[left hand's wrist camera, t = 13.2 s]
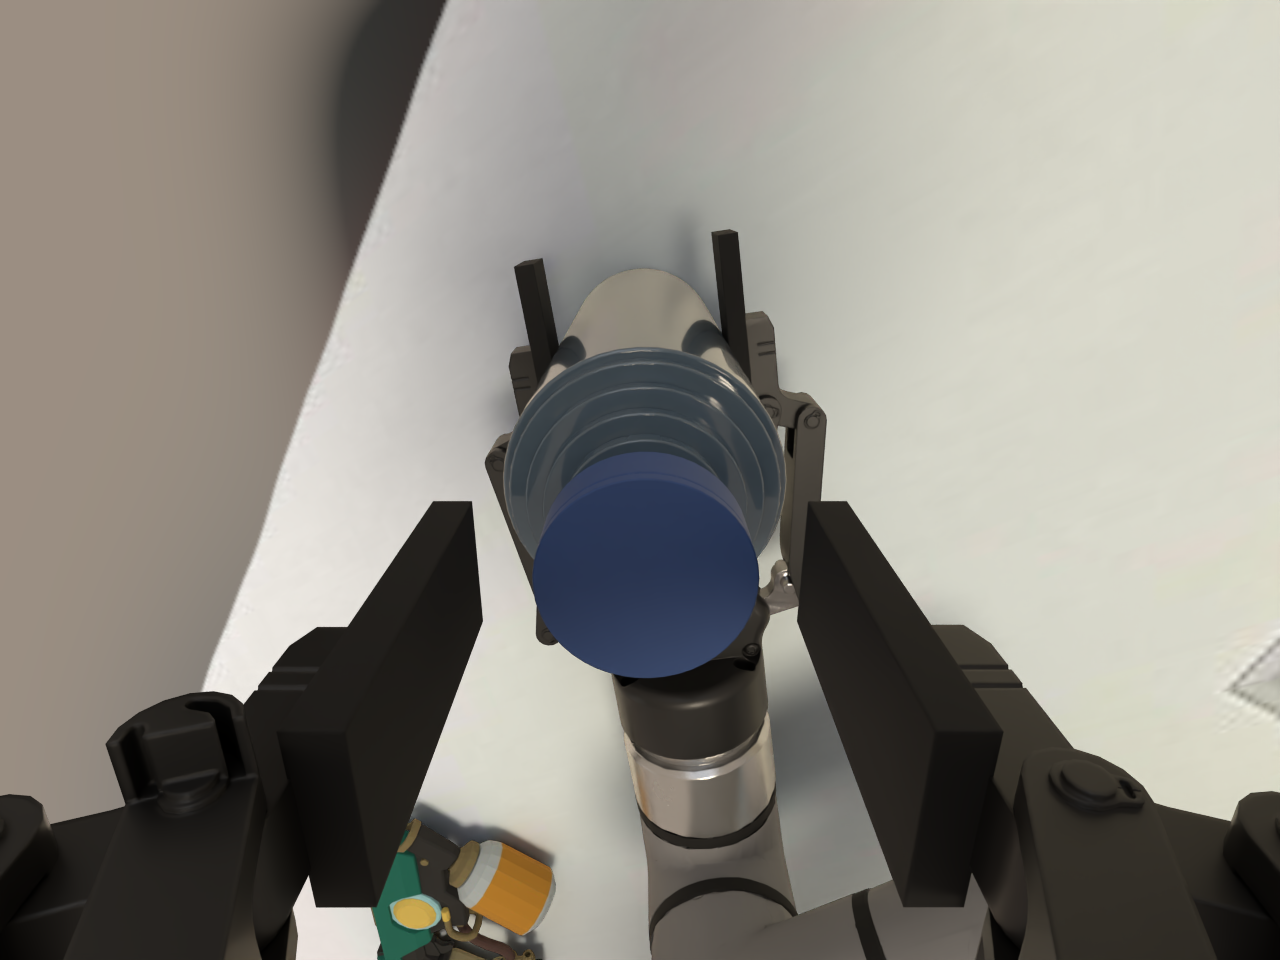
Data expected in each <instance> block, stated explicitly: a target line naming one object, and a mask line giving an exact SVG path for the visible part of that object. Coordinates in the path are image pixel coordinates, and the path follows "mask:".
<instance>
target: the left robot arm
mask: <svg viewBox="0 0 1280 960" xmlns="http://www.w3.org/2000/svg"><path fill="white" fill-rule="evenodd" d="M482 622H483V617H482V606H481V595H480V584H479V573H478V562H477V551H476V540H475V529H474V518H473V508H472V501H433V502H432V504H431V505H430V507H429V508H428V510H427V511H426V513H425V514H424V516H423V517H422V519H421V520H420V521H419V523H418V524H417V526H416V527H415V529H414V530H413V532H412V533H411V535H410V536H409V538H408V539H407V541H406V542H405V543H404V545H403V546H402V548H401V549H400V551H399V552H398V554H397V555H396V557H395V558H394V560H393V561H392V563H391V564H390V565H389V567H388V568H387V570H386V571H385V573H384V574H383V576H382V577H381V579H380V580H379V582H378V583H377V585H376V586H375V587H374V589H373V590H372V592H371V593H370V595H369V596H368V598H367V599H366V601H365V602H364V604H363V605H362V607H361V608H360V610H359V611H358V612H357V614H356V615H355V617H354V618H353V620H352V621H351V623H350V624H349V626H348V627H317V628H315V629H314V630H312V631H311V632H309V633H308V634H306V635H305V636H303V637H302V638H300V639H299V640H297V641H296V642H294V643H293V644H291V645H290V646H289V647H288V648H287V650H286V651H285V652H284V653H283V655H282V656H281V657H280V659H279V660H278V661H277V662H276V664H275V665H274V666H273V668H272V672H269V673H268V674H267V675H266V676H265V678H264V679H263V680H262V682H261V683H260V684H259V685H258V690H257V691H254V692H253V693H252V694H251V696H250V697H249V698H248V699H247V701H246V702H245V703H244V705H243V703H242V702H240V701H239V700H238V699H237V698H235V697H234V696H233V695H230V694H225V693H220V692H214V691H212V692H200V693H189V694H186V695H182V696H179V697H175V698H171V699H168V700H164V701H162V702H160V703H158V704H156V705H154V706H151V707H150V708H147V709H145V710H143V711H141V712H139V713H138V714H136V715H135V716H133V717H132V718H131V719H129V720H128V721H127V722H125V723H124V724H123V725H121V726H120V727H118V729H117V730H116V731H115V732H114V734H113V735H112V736H111V738H110V739H109V740H108V741H107V743H106V747H107V750H108V753H109V756H110V759H111V762H112V765H113V768H114V771H115V774H116V777H117V780H118V783H119V786H120V789H121V792H122V795H123V798H124V801H125V806H124V807H121V808H118V809H114V810H111V811H106V812H102V813H97V814H93V815H89V816H84V817H80V818H76V819H71V820H67V821H62V822H58V823H54V824H50V823H49V821H48V818H47V815H46V813H45V810H44V808H43V805H42V804H41V803H39V802H38V801H37V800H35V799H34V798H32V797H31V796H24V795H12V794H8V795H3V796H0V960H296V950H297V940H298V933H297V927H296V920H295V916H294V912H293V906H294V904H295V902H296V900H297V898H298V896H299V894H300V892H301V890H302V888H303V886H304V884H305V882H306V879H307V877H308V875H309V878H310V883H311V887H312V892H313V896H314V900H315V905H316V907H377V905H378V903H379V900H380V897H381V894H382V892H383V889H384V886H385V884H386V881H387V878H388V876H389V873H390V870H391V868H392V865H393V862H394V859H395V857H396V854H397V851H398V849H399V846H400V843H401V841H402V838H403V835H404V832H405V830H406V827H407V824H408V822H409V819H410V816H411V814H412V811H413V808H414V806H415V803H416V800H417V797H418V795H419V792H420V789H421V787H422V784H423V781H424V779H425V776H426V773H427V771H428V768H429V765H430V762H431V760H432V757H433V754H434V752H435V749H436V746H437V744H438V741H439V738H440V735H441V733H442V730H443V727H444V725H445V722H446V719H447V717H448V714H449V711H450V709H451V706H452V703H453V700H454V698H455V695H456V692H457V690H458V687H459V684H460V682H461V679H462V676H463V674H464V671H465V668H466V665H467V663H468V660H469V657H470V655H471V652H472V649H473V647H474V644H475V641H476V638H477V636H478V633H479V630H480V628H481V625H482ZM797 622H798V625H799V628H800V630H801V633H802V636H803V638H804V641H805V644H806V647H807V649H808V652H809V655H810V657H811V660H812V663H813V665H814V668H815V671H816V674H817V676H818V679H819V682H820V684H821V687H822V690H823V692H824V695H825V698H826V700H827V703H828V706H829V709H830V711H831V714H832V717H833V719H834V722H835V725H836V727H837V730H838V733H839V735H840V738H841V741H842V744H843V746H844V749H845V752H846V754H847V757H848V760H849V762H850V765H851V768H852V771H853V773H854V776H855V779H856V781H857V784H858V787H859V789H860V792H861V795H862V797H863V800H864V803H865V806H866V808H867V811H868V814H869V816H870V819H871V822H872V824H873V827H874V830H875V832H876V835H877V838H878V841H879V843H880V846H881V849H882V851H883V854H884V857H885V859H886V862H887V865H888V868H889V870H890V873H891V876H892V878H893V881H894V884H895V886H896V889H897V892H898V894H899V897H900V900H901V903H902V905H903V907H964V905H965V900H966V896H967V892H968V887H969V883H970V878H971V874H973V876H974V878H975V880H976V882H977V884H978V886H979V888H980V890H981V892H982V894H983V896H984V898H985V900H986V902H987V904H988V908H987V912H986V916H985V920H984V924H983V928H982V932H981V937H980V941H979V945H978V949H977V953H976V957H975V960H1280V793H1279V792H1273V791H1269V792H1257V793H1250V794H1249V795H1247V796H1246V797H1244V798H1243V799H1242V800H1240V801H1239V802H1238V805H1237V808H1236V810H1235V813H1234V815H1233V818H1232V820H1231V821H1227V820H1223V819H1218V818H1214V817H1209V816H1205V815H1201V814H1196V813H1192V812H1188V811H1183V810H1179V809H1175V808H1170V807H1166V806H1163V805H1160V804H1156V803H1154V802H1153V800H1152V799H1151V797H1150V796H1149V794H1148V793H1147V791H1146V790H1145V788H1144V787H1143V785H1141V784H1140V783H1139V782H1138V781H1137V780H1135V779H1134V778H1133V777H1132V776H1131V775H1129V774H1128V773H1127V772H1126V771H1125V770H1123V769H1121V768H1120V767H1118V766H1116V765H1114V764H1112V763H1110V762H1108V761H1107V760H1105V759H1103V758H1101V757H1099V756H1095V755H1092V754H1089V753H1086V752H1083V751H1080V750H1076V749H1074V748H1073V747H1072V746H1071V744H1070V743H1069V742H1068V741H1067V739H1066V738H1065V737H1064V736H1063V734H1062V733H1061V732H1060V731H1059V729H1058V728H1057V727H1056V725H1055V724H1054V723H1053V722H1052V720H1051V719H1050V718H1049V717H1048V715H1047V714H1046V713H1045V711H1044V710H1043V709H1042V708H1041V706H1040V705H1039V704H1038V703H1037V701H1036V700H1035V699H1034V697H1033V696H1032V695H1031V694H1030V692H1029V691H1028V690H1027V689H1026V688H1023V686H1022V682H1021V681H1020V680H1019V678H1018V677H1017V676H1016V675H1015V673H1014V672H1013V671H1012V670H1009V669H1008V664H1007V663H1006V662H1005V661H1004V659H1003V658H1002V657H1001V656H1000V654H999V653H998V652H997V651H996V649H995V648H994V647H993V645H992V644H991V643H989V642H988V641H986V640H985V639H984V638H982V637H981V636H979V635H978V634H976V633H975V632H973V631H972V630H970V629H969V628H967V627H966V626H964V625H931V624H930V623H929V621H928V620H927V618H926V617H925V615H924V614H923V612H922V611H921V610H920V608H919V607H918V605H917V604H916V602H915V601H914V599H913V598H912V596H911V595H910V593H909V592H908V590H907V589H906V587H905V586H904V585H903V583H902V582H901V580H900V579H899V577H898V576H897V574H896V573H895V571H894V570H893V568H892V567H891V565H890V564H889V563H888V561H887V560H886V558H885V557H884V555H883V554H882V552H881V551H880V549H879V548H878V546H877V545H876V543H875V542H874V541H873V539H872V538H871V536H870V535H869V533H868V532H867V530H866V529H865V527H864V526H863V524H862V523H861V521H860V520H859V519H858V517H857V516H856V514H855V513H854V511H853V510H852V508H851V507H850V505H849V504H848V502H847V501H808V508H807V518H806V529H805V540H804V551H803V562H802V573H801V584H800V595H799V606H798V617H797Z"/></svg>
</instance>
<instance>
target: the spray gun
mask: <svg viewBox="0 0 1280 960" xmlns="http://www.w3.org/2000/svg"><path fill="white" fill-rule="evenodd" d="M406 830H410V832H408V831H406ZM406 830H405V832H404V835H403V838H402V841H401V843H400V846H399V849H398V851H397V854H396V857H395V859H394V862H393V865H392V868H391V870H390V873H389V876H388V878H387V881H386V884H385V886H384V889H383V892H382V894H381V897H380V900H379V903H378V905H377V907H371V910H372V914H373V918H374V922H375V925H376V926H377V929H378V933H379V937H380V941H381V944H380V946H379V949H378V951H377V954H378V956H377V959H378V960H486V959H483V958H481V957H478V956H476V955H473V954H471V953H469V952H466V951H464V950H461V949H459V948H453V946H454V944H455V942H454V941H452V940H451V941H447V942H446V941H442V940H440V939H439V938H438V937H436V936H435V935H434V932H436V931H438V930H441V929H443V928H445V929H446V932H447V934H448V935H449V936H450V937H451V938H453V939H455V940H458V941H469V942H471V943H472V944H474V945H476V946H479V947H481V948H483V949H485V950H489V951H492V952H495V953H498V954H500V955H502V956H503V957H502V956H498V957H496V958H494V959H493V960H542V959H535V955H534V953H533V952H532V950H530V949H528V950H525V951H524V953H523V955H522V956H517V953H516V951H514V950H512V948H511V947H510V946H508V945H506V944H505V943H503V942H499V941H496V940H493V939H490V938H488V937H486V936H483V935H481V934H479V933H478V932H479V930H480V927H481V924H482V917H483V916H485V917H487V918H488V919H490V920H492V921H494V922H496V923H498V924H500V925H502V926H503V927H505V928H507V929H509V930H511V931H513V932H515V933H517V934H519V935H525V934H527V933H528V932H530V931H532V930H533V929H535V928H536V927H538V925H539V924H540V923H541V922H542V921H543V919H544V917H545V915H546V914H547V912H548V910H549V907H550V905H551V903H552V900H553V897H554V894H555V886H556V884H555V879H554V875H553V872H552V869H551V868H550V867H548V866H546V865H544V864H542V863H541V862H539V861H537V860H535V859H533V858H531V857H529V856H527V855H525V854H523V853H521V852H519V851H517V850H515V849H513V848H512V847H510V846H508V845H506V844H504V843H502V842H497V841H492V840H487V841H485V842H483V843H480V844H479V843H477V842H475V841H472V840H471V841H469V842H468V843H467V844H466V845H464V846H463V847H461V848H459V847H458V846H457V845H456V844H454V843H453V842H451V841H449V840H448V839H446V838H444V837H443V836H441V835H440V834H438V833H436V832H435V831H433V830H431V829H430V828H428V827H427V826H425V825H423V824H422V825H421V821H419V820H417V819H416V818H415V819H414V820H412V822H411V823H408V824H407V827H406ZM448 868H449V870H450V875H449V872H448ZM470 914H475V915H476V919H475V924H474V927H473V929H471V927H470V926H469V925H468V919H469V916H470ZM452 926H457V928H458V930H459V931H460V932H458V931H456V930H454V929H453V927H452Z"/></svg>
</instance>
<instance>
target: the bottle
mask: <svg viewBox="0 0 1280 960" xmlns="http://www.w3.org/2000/svg"><path fill="white" fill-rule="evenodd" d="M633 452H659V453H666V454H671V455H675V456H678V457H682V458H684V459H687V460H689V461H692V462H694V463H696V464H698V465H700V466H701V467H703V468H705V469H707V470H708V471H709V472H711V473H712V474H713V475H714V476H716V477H717V478H718V479H719V480H720V481H721V482H722V483H723V484H724V485H725V486H726V487H727V488H728V489H729V491H730V492H731V493H732V495H733V496H734V497H735V499H736V501H737V503H738V504H739V506H740V508H741V510H742V513H743V516H744V518H745V521H746V524H747V527H748V530H749V534H750V537H751V540H752V543H753V546H754V549H755V552H756V557H758V556H759V555H760V553H761V552H762V551H763V549H764V548H765V547H766V545H767V543H768V542H769V540H770V538H771V536H772V534H773V533H774V531H775V528H776V526H777V523H778V521H779V518H780V515H781V512H782V507H783V503H784V499H785V490H786V463H785V458H784V453H783V447H782V444H781V441H780V438H779V435H778V432H777V430H776V428H775V426H774V424H773V422H772V420H771V418H770V416H769V414H768V412H767V410H766V409H765V407H764V405H763V404H762V402H761V400H760V398H759V397H758V395H757V393H756V392H755V390H754V388H753V386H752V385H751V383H750V381H749V379H748V378H747V376H746V374H745V373H744V371H743V369H742V367H741V366H740V364H739V362H738V361H737V359H736V357H735V355H734V354H733V352H732V350H731V349H730V347H729V345H728V343H727V342H726V340H725V338H724V337H723V335H722V333H721V331H720V330H719V328H718V326H717V324H716V323H715V321H714V319H713V318H712V316H711V314H710V312H709V311H708V309H707V307H706V306H705V304H704V302H703V301H702V299H701V298H700V296H699V295H698V294H697V293H696V292H695V291H694V289H693V288H692V287H690V286H689V285H688V284H687V283H686V282H684V281H683V280H681V279H680V278H678V277H676V276H674V275H672V274H670V273H667V272H664V271H660V270H655V269H644V268H639V269H631V270H627V271H623V272H620V273H618V274H615V275H613V276H611V277H609V278H607V279H606V280H604V281H603V282H602V283H600V284H599V285H598V286H596V287H595V289H594V290H593V291H592V292H591V293H590V294H589V295H588V297H587V298H586V299H585V301H584V302H583V304H582V306H581V308H580V310H579V311H578V313H577V315H576V317H575V319H574V320H573V322H572V324H571V326H570V328H569V329H568V331H567V333H566V335H565V337H564V338H563V340H562V342H561V344H560V346H559V347H558V349H557V351H556V353H555V355H554V356H553V358H552V360H551V362H550V364H549V365H548V367H547V369H546V371H545V373H544V374H543V376H542V378H541V380H540V382H539V383H538V385H537V387H536V389H535V391H534V393H533V394H532V396H531V398H530V400H529V402H528V403H527V405H526V407H525V409H524V411H523V412H522V414H521V416H520V418H519V420H518V421H517V423H516V425H515V427H514V430H513V433H512V435H511V438H510V440H509V443H508V448H507V452H506V456H505V463H504V475H503V479H504V495H505V500H506V505H507V510H508V513H509V516H510V519H511V522H512V525H513V527H514V529H515V531H516V533H517V535H518V537H519V539H520V541H521V543H522V544H523V546H524V547H525V548H526V550H527V551H528V553H529V554H530V556H531V557H532V558H533V559H535V555H536V551H537V548H538V544H539V541H540V538H541V534H542V531H543V527H544V524H545V521H546V517H547V515H548V513H549V510H550V508H551V506H552V504H553V502H554V501H555V499H556V497H557V496H558V494H559V493H560V492H561V491H562V489H563V488H564V487H565V486H566V485H567V484H568V483H569V482H570V481H571V480H572V479H573V478H574V477H575V476H576V475H578V474H579V473H580V472H582V471H583V470H585V469H586V468H588V467H590V466H591V465H593V464H595V463H597V462H599V461H602V460H604V459H607V458H610V457H612V456H617V455H621V454H625V453H633Z"/></svg>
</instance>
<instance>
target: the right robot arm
mask: <svg viewBox="0 0 1280 960" xmlns="http://www.w3.org/2000/svg"><path fill="white" fill-rule="evenodd" d="M711 233H712V242H713V252H714V261H715V271H716V280H717V290H718V299H719V309H720V318H721V328H722V335H723V337H724V338H725V340H726V342H727V343H728V345H729V347H730V349H731V350H732V352H733V354H734V355H735V357H736V359H737V361H738V362H739V364H740V366H741V367H742V369H743V371H744V373H745V374H746V376H747V378H748V379H749V381H750V383H751V385H752V386H753V388H754V390H755V392H756V393H757V395H758V397H759V398H760V400H761V402H762V404H763V405H764V407H765V409H766V410H767V412H768V414H769V416H770V418H771V420H772V422H773V424H774V426H775V428H776V430H777V428H778V425H779V426H784V427H786V430H785V449H784V458H785V463H786V490H785V499H784V503H783V507H782V512H781V522H780V548H781V553H782V557H783V560H778V561H776V563H775V565H774V566H773V567H772V569H771V580H770V582H769V584H768V585H767V586H765V587H764V588H760V587H758V594H757V599H756V603H755V606H754V608H753V611H752V614H751V616H750V618H749V620H748V622H747V623H746V625H745V627H744V629H743V630H742V631H741V633H740V634H739V635H738V636H737V638H736V639H735V640H734V641H733V642H732V643H731V644H730V645H729V646H728V647H727V648H726V649H725V650H724V651H722V652H721V653H720V654H719V655H717V656H716V657H714V658H713V659H711V660H710V661H708V662H706V663H705V664H703V665H700V666H698V667H696V668H694V669H692V670H689V671H686V672H683V673H680V674H675V675H671V676H666V677H657V678H634V677H626V676H620V675H616V674H612V673H611V674H612V679H613V684H614V689H615V694H616V700H617V705H618V710H619V715H620V720H621V724H622V727H623V729H624V742H625V747H626V751H627V756H628V761H629V766H630V770H631V775H632V780H633V785H634V789H635V795H636V800H637V804H638V808H639V812H640V817H641V824H642V830H643V837H644V843H645V849H646V856H647V866H648V904H649V940H650V950H651V955H652V960H975V957H976V953H977V949H978V945H979V941H980V937H981V932H982V928H983V924H984V920H985V916H986V912H987V908H988V904H987V902H986V900H985V898H984V896H983V894H982V892H981V890H980V888H979V886H978V884H977V882H976V880H975V878H974V876H973V874H971V878H970V883H969V887H968V892H967V896H966V900H965V905H964V907H903V905H902V903H901V900H900V897H899V894H898V892H897V889H896V886H895V884H894V881H893V880H891V881H889V882H886V883H884V884H881V885H879V886H876V887H874V888H870V889H869V888H868V889H865V890H863V891H860V892H858V893H854V894H851V895H849V896H846V897H844V898H841V899H838V900H836V901H833V902H831V903H828V904H825V905H823V906H820V907H818V908H815V909H812V910H810V911H807V912H805V913H802V914H799V915H798V914H797V912H796V907H795V903H794V898H793V894H792V889H791V885H790V880H789V875H788V871H787V866H786V861H785V856H784V850H783V843H782V836H781V828H780V821H779V814H778V806H777V799H776V784H775V777H776V774H775V765H774V755H773V746H772V737H771V728H770V719H769V714H768V712H767V708H768V698H767V689H766V679H765V669H764V659H763V649H762V636H763V633H764V630H765V628H766V626H767V624H768V622H769V619H770V615H772V614H775V613H778V612H781V611H784V610H787V609H790V608H793V607H797V606H799V595H800V584H801V573H802V562H803V551H804V540H805V529H806V518H807V508H808V501H821V489H822V476H823V463H824V449H825V436H826V423H827V419H826V415H825V413H824V411H823V410H822V409H821V408H820V407H819V405H818V404H817V403H816V402H815V401H814V399H813V398H812V397H811V396H810V395H808V394H807V393H803V392H800V393H792V392H787V391H784V390H781V389H780V388H779V385H778V374H777V361H776V349H775V336H774V327H773V325H772V323H771V321H770V319H769V317H768V316H767V315H766V314H765V313H764V312H763V311H759V312H753V313H746V314H745V305H744V294H743V284H742V273H741V262H740V251H739V240H738V232H735V231H733V230H730V229H728V230H722V231H715V232H711ZM514 270H515V275H516V279H517V284H518V289H519V294H520V299H521V304H522V309H523V314H524V319H525V324H526V329H527V334H528V339H529V343H530V345H529V346H522V347H516V348H515V350H514V351H513V352H512V353H511V357H510V362H509V370H510V375H511V379H512V384H513V389H514V393H515V398H516V403H517V407H518V412H519V416H521V414H522V412H523V411H524V409H525V407H526V405H527V403H528V402H529V400H530V398H531V396H532V394H533V393H534V391H535V389H536V387H537V385H538V383H539V382H540V380H541V378H542V376H543V374H544V373H545V371H546V369H547V367H548V365H549V364H550V362H551V360H552V358H553V356H554V355H555V353H556V351H557V349H558V347H559V344H558V339H557V333H556V328H555V323H554V318H553V312H552V307H551V302H550V296H549V291H548V286H547V281H546V275H545V270H544V265H543V259H542V258H541V259H535V260H528V261H524V262H522V263H520V264H518V265H517V266H515V267H514ZM512 433H513V432H511V433H509V434H503V435H501V436H500V437H499V438H498V439H497V440H496V442H495V444H494V445H493V447H492V449H491V450H490V452H489V454H488V455H487V457H486V460H485V467H486V470H487V473H488V475H489V478H490V481H491V483H492V486H493V488H494V491H495V494H496V496H497V499H498V502H499V504H500V507H501V510H502V512H503V515H504V517H505V520H506V523H507V525H508V528H509V531H510V533H511V536H512V539H513V541H514V544H515V546H516V549H517V552H518V554H519V557H520V560H521V562H522V565H523V567H524V570H525V573H526V575H527V578H528V581H529V583H530V586H531V589H532V591H533V581H532V573H533V564H534V559H533V558H532V557H531V556H530V554H529V553H528V551H527V550H526V548H525V547H524V546H523V544H522V543H521V541H520V539H519V537H518V535H517V533H516V531H515V529H514V527H513V525H512V522H511V519H510V516H509V513H508V510H507V505H506V500H505V495H504V479H503V475H504V463H505V456H506V452H507V448H508V443H509V440H510V438H511V435H512ZM533 594H534V592H533ZM536 636H537V639H538V640H539V642H541V643H542V644H545V645H554V644H556V643H558V641H557V640H556V639H555V637H554V636H553V635H552V634H551V632H550V631H549V629H548V628H547V626H546V625H545V623H544V621H543V619H542V617H541V615H540V613H539V610H538V607H537V615H536Z"/></svg>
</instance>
